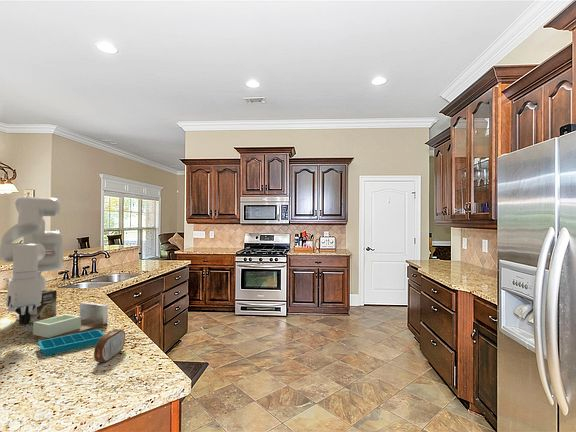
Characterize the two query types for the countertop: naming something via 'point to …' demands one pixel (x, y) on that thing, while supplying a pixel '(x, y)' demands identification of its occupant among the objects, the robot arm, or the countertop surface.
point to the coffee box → (43, 309)
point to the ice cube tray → (70, 342)
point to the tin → (109, 345)
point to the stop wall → (94, 312)
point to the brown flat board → (84, 328)
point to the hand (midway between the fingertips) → (24, 324)
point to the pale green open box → (56, 325)
